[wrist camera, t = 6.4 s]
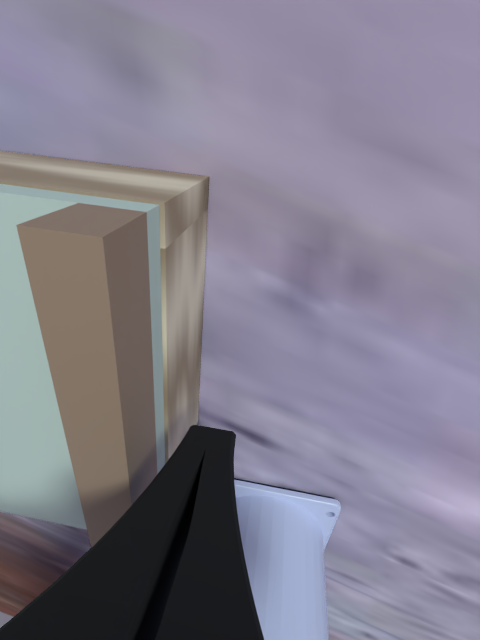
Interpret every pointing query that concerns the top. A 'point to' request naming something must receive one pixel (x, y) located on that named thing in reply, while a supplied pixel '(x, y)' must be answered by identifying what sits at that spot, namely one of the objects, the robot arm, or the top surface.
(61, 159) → the box
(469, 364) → the top surface
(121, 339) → the lid
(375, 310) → the top surface
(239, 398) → the top surface
